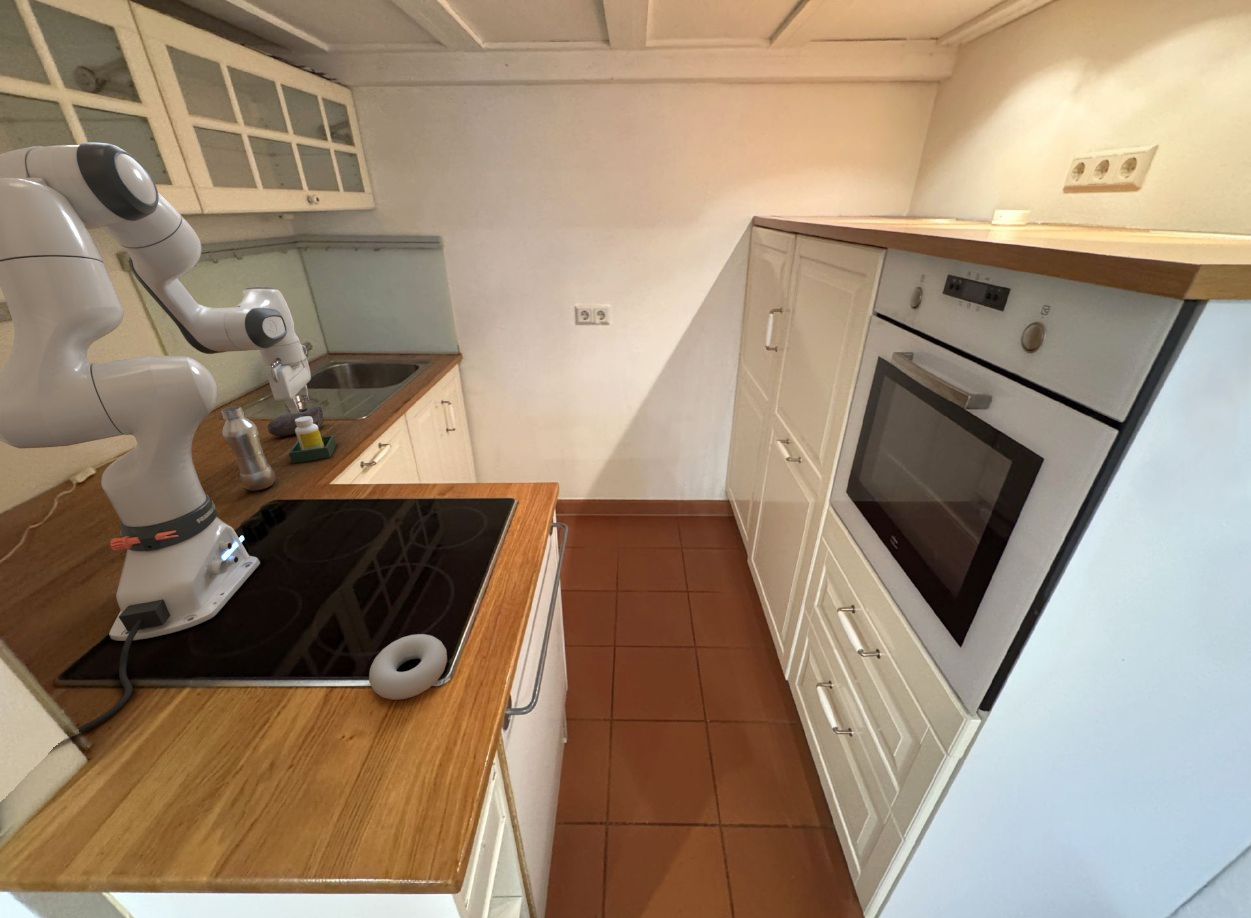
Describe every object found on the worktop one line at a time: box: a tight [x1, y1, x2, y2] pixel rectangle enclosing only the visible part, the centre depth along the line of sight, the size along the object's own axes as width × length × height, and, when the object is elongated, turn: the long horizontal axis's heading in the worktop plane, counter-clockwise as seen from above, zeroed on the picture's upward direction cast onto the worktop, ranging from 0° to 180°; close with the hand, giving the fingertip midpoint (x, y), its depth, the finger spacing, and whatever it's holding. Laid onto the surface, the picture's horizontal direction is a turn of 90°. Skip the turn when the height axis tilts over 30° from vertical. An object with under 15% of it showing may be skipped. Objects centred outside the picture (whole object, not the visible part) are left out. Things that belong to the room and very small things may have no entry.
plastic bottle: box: [220, 405, 276, 492], centre depth 116 cm, size 6×7×20 cm
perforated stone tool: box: [267, 405, 324, 437], centre depth 149 cm, size 15×5×7 cm, turn 127°
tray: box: [288, 434, 337, 464], centre depth 136 cm, size 9×9×3 cm
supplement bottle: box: [295, 416, 324, 450], centre depth 134 cm, size 5×5×10 cm
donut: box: [368, 633, 448, 701], centre depth 68 cm, size 10×3×10 cm
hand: (300, 407), depth 131 cm, fingers open, 8 cm apart
